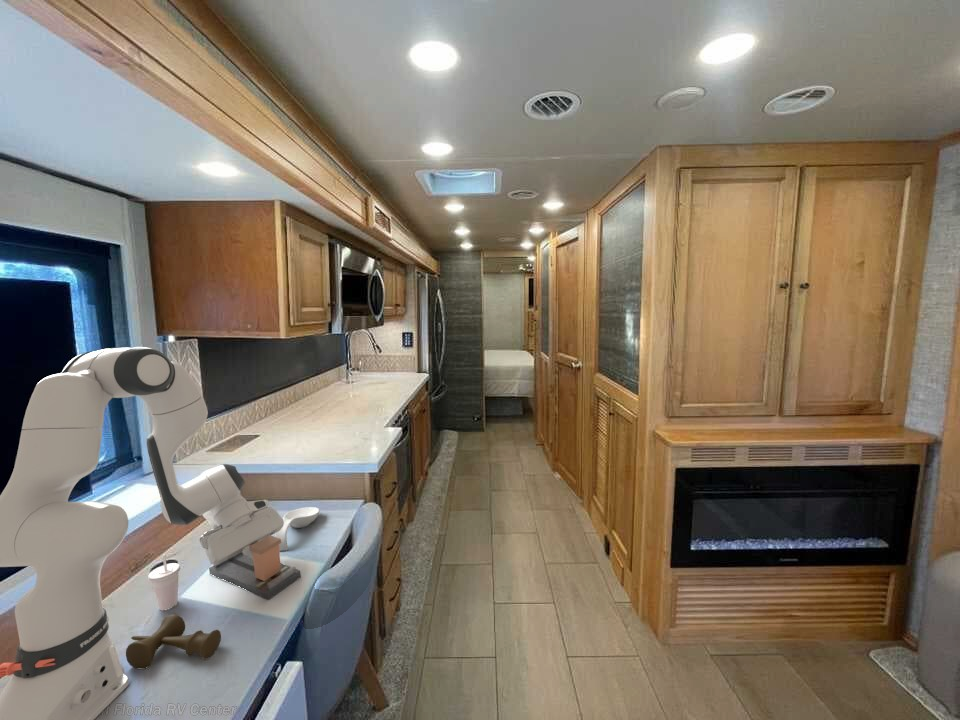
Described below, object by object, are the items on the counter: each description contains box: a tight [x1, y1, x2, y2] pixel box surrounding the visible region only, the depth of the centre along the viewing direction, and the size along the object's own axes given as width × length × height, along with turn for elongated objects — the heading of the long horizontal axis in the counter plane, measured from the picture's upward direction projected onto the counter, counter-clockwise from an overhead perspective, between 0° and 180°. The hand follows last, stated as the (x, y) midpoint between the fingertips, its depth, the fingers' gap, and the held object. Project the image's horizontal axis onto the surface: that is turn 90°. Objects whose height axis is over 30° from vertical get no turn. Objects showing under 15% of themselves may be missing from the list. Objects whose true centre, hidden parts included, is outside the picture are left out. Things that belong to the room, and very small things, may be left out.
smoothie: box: [148, 553, 181, 611], centre depth 101 cm, size 6×6×14 cm
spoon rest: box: [274, 506, 321, 552], centre depth 135 cm, size 24×12×7 cm, turn 3°
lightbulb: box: [202, 511, 218, 531], centre depth 137 cm, size 6×6×11 cm
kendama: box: [125, 613, 222, 669], centre depth 86 cm, size 6×10×20 cm
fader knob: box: [249, 535, 282, 581], centre depth 109 cm, size 5×6×9 cm
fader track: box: [208, 552, 302, 601], centre depth 112 cm, size 26×10×4 cm, turn 64°
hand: (260, 558), depth 110 cm, fingers closed, pressing on fader knob
